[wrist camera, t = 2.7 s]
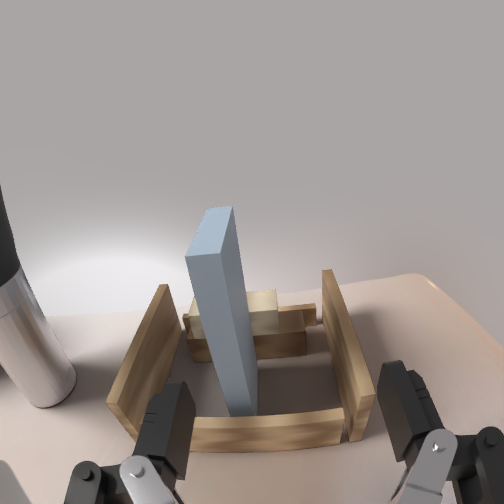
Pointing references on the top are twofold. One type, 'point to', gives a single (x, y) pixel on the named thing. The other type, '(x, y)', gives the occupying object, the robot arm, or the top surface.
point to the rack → (252, 427)
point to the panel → (225, 308)
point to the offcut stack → (257, 329)
